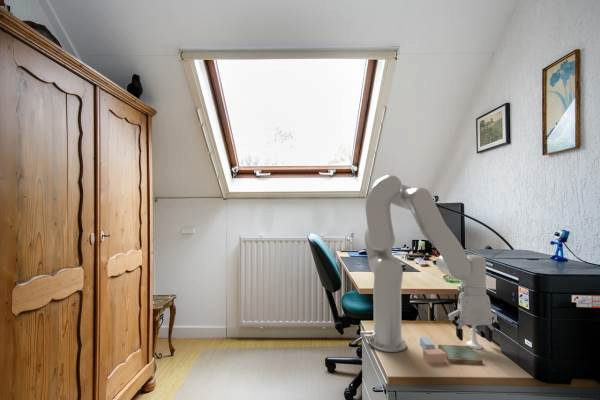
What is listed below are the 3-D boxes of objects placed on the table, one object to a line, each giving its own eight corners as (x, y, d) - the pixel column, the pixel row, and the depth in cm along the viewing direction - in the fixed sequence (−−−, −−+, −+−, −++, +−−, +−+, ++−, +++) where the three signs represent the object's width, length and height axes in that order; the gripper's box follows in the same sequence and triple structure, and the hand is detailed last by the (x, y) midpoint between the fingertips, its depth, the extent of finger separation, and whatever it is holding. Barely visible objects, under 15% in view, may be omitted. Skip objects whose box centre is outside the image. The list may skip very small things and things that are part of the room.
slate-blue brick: (434, 353, 104) (434, 344, 104) (425, 353, 104) (425, 344, 104) (428, 345, 110) (428, 337, 110) (420, 345, 110) (419, 336, 110)
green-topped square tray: (448, 362, 98) (448, 358, 98) (438, 348, 108) (438, 344, 108) (482, 364, 97) (482, 360, 97) (468, 349, 107) (468, 345, 107)
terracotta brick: (428, 364, 98) (428, 354, 98) (423, 359, 101) (423, 350, 101) (446, 362, 98) (445, 353, 98) (440, 358, 101) (440, 348, 101)
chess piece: (484, 349, 106) (484, 320, 107) (468, 348, 107) (468, 319, 108) (479, 343, 111) (479, 315, 111) (464, 342, 112) (464, 314, 112)
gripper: (451, 292, 107) (452, 343, 107) (505, 294, 105) (506, 345, 105) (444, 286, 114) (444, 334, 114) (494, 288, 112) (494, 336, 112)
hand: (474, 339), depth 109 cm, fingers open, 9 cm apart
